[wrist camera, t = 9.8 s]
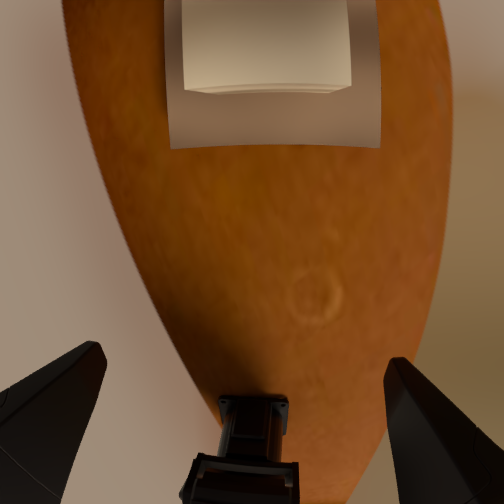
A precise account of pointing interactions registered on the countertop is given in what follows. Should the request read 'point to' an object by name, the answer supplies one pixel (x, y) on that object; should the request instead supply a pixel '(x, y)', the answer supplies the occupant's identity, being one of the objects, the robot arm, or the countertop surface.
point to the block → (265, 46)
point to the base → (279, 98)
